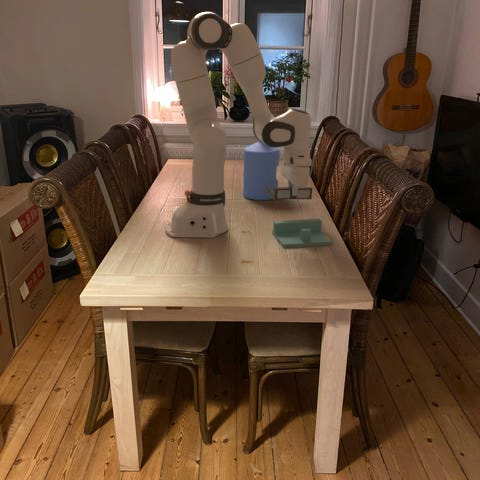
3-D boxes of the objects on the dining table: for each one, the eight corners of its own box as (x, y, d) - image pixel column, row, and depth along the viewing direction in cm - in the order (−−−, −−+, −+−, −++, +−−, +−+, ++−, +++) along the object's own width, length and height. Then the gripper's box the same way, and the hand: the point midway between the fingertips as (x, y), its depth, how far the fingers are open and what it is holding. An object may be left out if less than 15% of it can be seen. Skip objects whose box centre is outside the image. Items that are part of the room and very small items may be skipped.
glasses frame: (274, 199, 183) (275, 188, 181) (265, 190, 194) (266, 179, 193) (311, 199, 185) (312, 188, 184) (300, 189, 197) (301, 179, 196)
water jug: (258, 203, 215) (260, 136, 204) (235, 194, 226) (236, 131, 216) (285, 196, 224) (288, 133, 214) (261, 189, 235) (263, 128, 225)
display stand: (283, 247, 167) (283, 233, 165) (272, 233, 180) (272, 220, 178) (331, 244, 171) (332, 230, 169) (317, 231, 183) (318, 218, 181)
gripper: (279, 150, 188) (276, 186, 193) (295, 162, 170) (292, 202, 175) (295, 150, 190) (292, 186, 195) (313, 162, 171) (309, 201, 176)
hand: (292, 193), depth 184 cm, fingers closed on glasses frame, 2 cm apart
